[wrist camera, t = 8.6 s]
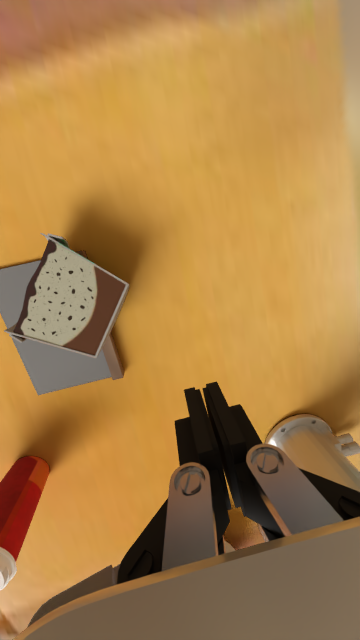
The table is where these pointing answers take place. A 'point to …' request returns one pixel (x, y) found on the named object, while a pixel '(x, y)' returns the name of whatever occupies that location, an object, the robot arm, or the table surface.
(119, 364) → the rail
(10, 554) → the paper cup
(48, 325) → the food container
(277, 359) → the table surface
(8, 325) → the mat
